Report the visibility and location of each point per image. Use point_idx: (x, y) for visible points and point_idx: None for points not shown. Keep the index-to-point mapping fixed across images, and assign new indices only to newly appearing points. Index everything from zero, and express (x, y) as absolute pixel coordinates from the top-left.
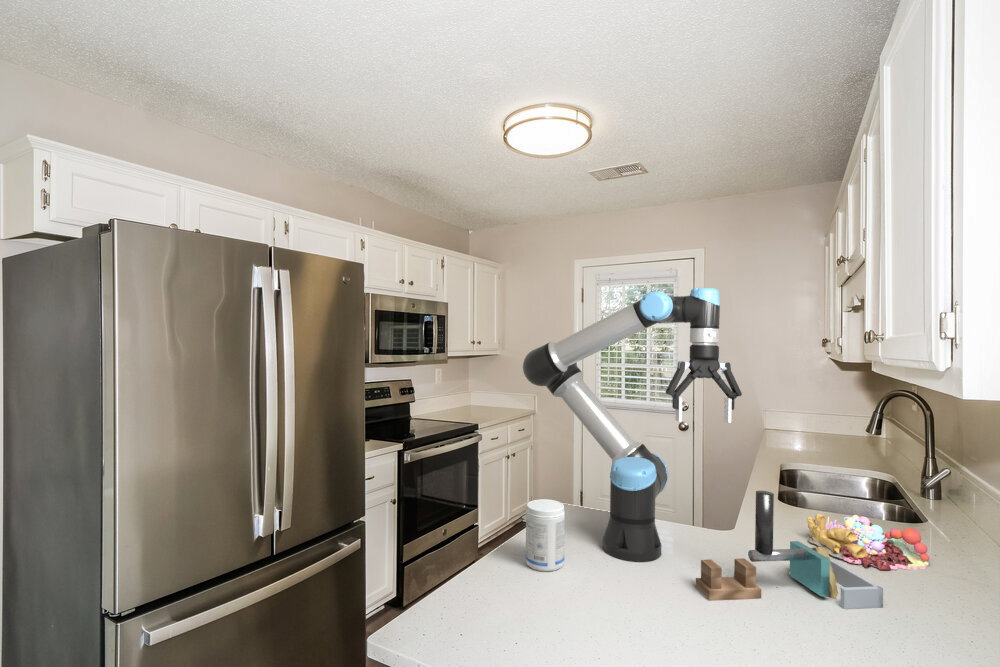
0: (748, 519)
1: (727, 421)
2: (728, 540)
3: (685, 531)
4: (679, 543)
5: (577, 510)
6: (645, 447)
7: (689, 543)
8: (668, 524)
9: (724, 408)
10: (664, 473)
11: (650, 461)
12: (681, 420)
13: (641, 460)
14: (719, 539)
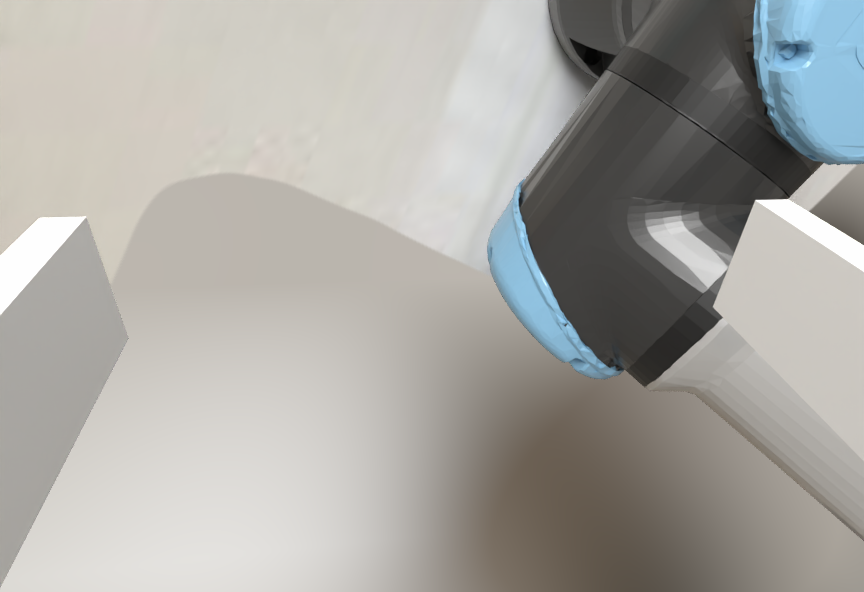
0: None
1: (91, 248)
2: (241, 78)
3: (376, 162)
4: (445, 44)
5: None
6: (684, 313)
7: (407, 44)
8: (412, 223)
9: (46, 470)
10: (554, 194)
11: (676, 199)
12: (772, 206)
13: (843, 75)
14: (274, 87)
